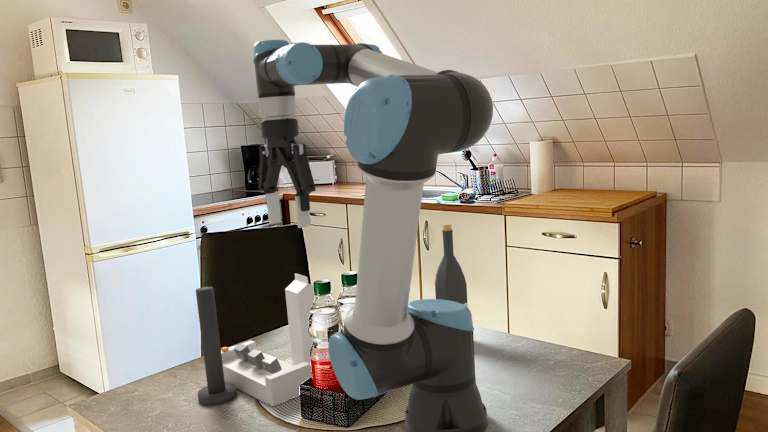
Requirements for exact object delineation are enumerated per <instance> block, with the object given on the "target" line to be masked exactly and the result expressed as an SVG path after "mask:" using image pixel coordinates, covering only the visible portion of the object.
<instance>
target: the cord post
mask: <svg viewBox="0 0 768 432" xmlns="http://www.w3.org/2000/svg"><path fill="white" fill-rule="evenodd" d="M195 296H196V297H195V298H196V306H197V311H198V320H199V329H200V335H201V344H202V352H203V358H204V359H203V361H204V368H205V369H204V370H205V376H206V386H204V387H202V388H200V390H198V392H197V398H198V403H199V404H201V405H202V406H208V407H209V406H212V407H213V406H218V405H222V404H226V403H229V402H230V401H232V400H234V399H235V398H236V397H237V394H238V393H237V388H236V386H235V385H234V384H232V383H226V382H225V381H224V372H223V364H222V356H221V348H222V347H221V340H220V333H219V324H218V316H217V315H218V314H217V308H216V299H215V290H214V287H213V286H203V287H199V288H196V289H195Z"/></svg>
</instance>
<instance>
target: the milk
mask: <svg viewBox="0 0 768 432" xmlns="http://www.w3.org/2000/svg"><path fill="white" fill-rule="evenodd" d="M284 293H285V302H286V310H287V312H286V313H287V321H288V322H287V323H288V332H289V333H288V334H289V342H290V352H291V361H292V365H294V366H295V365H298V364H300V363H303V362H307V363H309V364H310V348H311V345H312V341H313V340H312V338H311V337H310V335H309V333H308V317H309V310H310V307H311V305H312V304H313V301H314V292H313V284H310V283H309V278H308V276H305V275H302V274H299V273H294V280H293V281H292V282H291V283H290V284H289V285H287V287H285V288H284ZM310 367H311V366H310Z"/></svg>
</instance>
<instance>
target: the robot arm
mask: <svg viewBox="0 0 768 432" xmlns="http://www.w3.org/2000/svg"><path fill="white" fill-rule="evenodd" d="M252 62H253V65H254V71H255V80H256V90H257V100H258V110H259V117H260V118H261V119H262V121H261V122H260V127H261V137H262V139H266V140H267V144H262V145H259V146H258V151H259V167H258V168H259V171H258V190H259V191H263V194H265V202H266V207H267V218H268V223H269V225H272V224H278V223H282V214H281V206H280V205H281V204H280V195H279V189H278V188H277V186H278V182H279V178H280V173H281V169H282V167H284V168H285V169H286V170H287V172H288V175H289V177H290V179H291V182H292V185H293V186H294V189H295V191H296V193H295V194H294V198H295V199H294V201H295V209H296V219H297V228H298V229H302V228H306V227H311V226H312V225H311V224H312V223H311V211H310V210H311V205H310V195H311V193H313V192H315V191H316V185H315V181H314V177H313V174H312V171H311V167H310V164H309V159H308V158H309V157H308V155H307V145H306V143H297V142H296V139H295V137H298V136H299V134H300V131H299V122H298V119H297V118H295V116H296V115H297V114H298V113H297V112H298V111H297V106H296V92H295V86H309V85H310V86H312V85H314V86H315V85H328V84H329V85H331V84H350V85H352V86H355V87H356V88H355V89H353V92H352V93H351V95H350V97H349V99H348V101H347V105H346V108H345V113H344V119H343V134H344V137H346V140H345V144H346V148H347V151H348V152H349V154H350V156H351V157H352V158H353V159H354V160H355V161H357V165H356V166H357V168H358V170H359V171H360V172H361V173H362V174H363V175H364V176H365V189H364V190H365V191H364V198H363V199H364V201H363V210H362V211H363V213H362V222H361V223H362V224H361V232H360V233H361V234H360V242H359V243H360V245H359V255H358V256H359V258H358V267H357V277H356V291H355V300H354V301H355V302H354V306H353V307H351V308H350V309H349V310H347V312H346V314H345V315H344V322H343V331H341V332H339V331H336V332H335V333H334V334H332V335H331V336H330V337H329V340H328V355H329V356H328V357H329V359H330V360H329V361H330V363H331V367H332V369H333V372H334V375H335V377H336V379H337V381H338V383H339V385H340V387H341V389H343V391H344V392H345V393H346V394H347V395H348V396H349V397H351V399H354V400H357V401H362V400H365V399H366V400H367V399H370V398H377V397H379V396H381V395H383V394H386V393H389V392H392V391H396V390H398V389H400V388H403V387H407V386H410V385H411V389H410V394H409V395H408V396H409V397H408V401H407V407H406V408H405V410H404V411H405V412H404V413H405V414H404V421H405V422H404V424H405V429H406V430H407V432H485V431H486V430H487V428H488V412H487V407H486V405H485V404H484V403H483V401H482V396H481V393H480V390H479V387H478V385H477V379H476V363H475V362H476V361H475V343H474V341H475V340H474V331H475V327H474V324H473V323H474V322H473V317H472V312H471V310H470V308H469V306H468V307H466V306H465V305H463V304H461V303H458V302H454V301H449V300H441V299H436V298H426V299H425V298H423V299H415V300H412V301H410V302H409V298H410V291H411V284H412V276H413V270H414V269H413V268H414V261H415V253H416V245H417V238H418V229H419V223H420V215H421V205H422V199H423V193H424V192H423V191H424V185H425V184H426V182H428V181H430V180H431V179H433V178H434V177H435V175H436V173H437V165H438V158H439V156H440V155H445V154H451V153H452V154H453V153H457V152H458V153H459V152H461V151H465V150H467V149H469V148H471V147H473V146H474V145H476V144H477V143H478V142H480V141H481V140H482V138H483V137H484V136H485V135H486V134H487V132H488V131H489V128H490V127H491V124H492V120H493V116H494V104H493V100H492V99H493V98H492V96H491V94H490V91H489V90H488V89H487V86H485V84H483V82H482V81H480V80H479V79H478V78H476V77H474V76H472V75H469V74H467V73H463V72H459V71H457V70H453V69H443V70H440V71H436V70H433V69H430V68H427V67H424V66H420V65H417V64H414V63H412V62H409V61H406V60H403V59H399V58H396V57H393V56H390V55H387V54H384V53H383V51H381V49H380V48H379V46H377V45H375V44H371V43H361V42H360V43H359V42H358V43H353V44H351V43H350V44H349V43H348V44H345V43H344V44H311V43H308V42H305V41H301V42H292V43H289V41H288V40H286V39H265V40H260V41H257V42H255V43H254V45H253V61H252Z"/></svg>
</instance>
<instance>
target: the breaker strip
mask: <svg viewBox="0 0 768 432" xmlns="http://www.w3.org/2000/svg"><path fill="white" fill-rule="evenodd" d="M242 344H244V345H246V346H248V348H249V350H250V352H251V351H252V350H253V349H256V350H257V343H256V341H253V340H248V341H245V342H242ZM237 345H238V344H235V345H233V346H230V347H229V346H223V347H221V356H222V364H223V372H224V381H225V383H232V384H234V385H235V386H236V390H237V389H238V390H240V391H241V392H243V393H246V394H247V395H249V396H250V397H253V398H255V399H256V400H258V399H260V400H262V401H264V402H266V403H268V404H270V405H271V406H270V405H269V406H270V407H272V406H275V405H277V404H279V403H282V402H284V401H287V400H289V399H291V398H293V397H296V396H298V395H299V386H300V384H301V383H302V382H304V381H305V380H307V379H308V378H310V377H312V370H311V367H310V364H309V363H307V362H303V363H300V364H298V365H295V366H294V365H293V364H291V363H289V362H287V361H283V360H281V359H278V358H277V360H278V362H279V364H280V366H281V368H282V370H280V371H279V372H277V373H274V374H272V373H269V372H267V370H266V369H265V368H262V367H261V368H258V367H256V366H254V365H252V363H251V362H249V361H246V362H245V361H243V360H241V359H239V358H238V356H237V354H236V352H235V350H234V348H235V347H236V346H237ZM262 354H263V356H264V358H266V357H267V356H268V355H269V354H267V353H265V352H262ZM296 398H297V397H296ZM260 400H259V401H260ZM262 401H261V402H262ZM289 401H290V400H289ZM264 402H263V403H264ZM287 402H288V401H287ZM266 403H265V404H266ZM284 403H285V402H284ZM268 404H267V405H268ZM282 404H283V403H282ZM277 406H278V405H277ZM275 407H276V406H275Z"/></svg>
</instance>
